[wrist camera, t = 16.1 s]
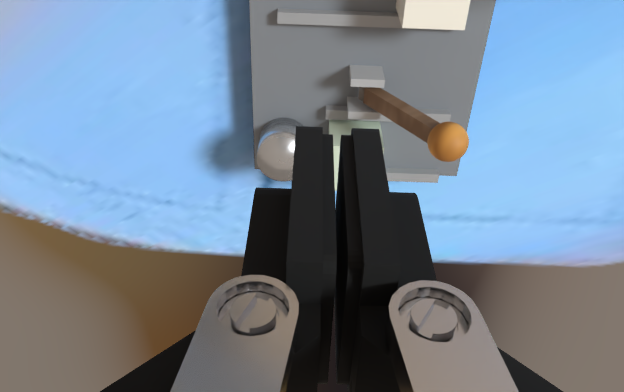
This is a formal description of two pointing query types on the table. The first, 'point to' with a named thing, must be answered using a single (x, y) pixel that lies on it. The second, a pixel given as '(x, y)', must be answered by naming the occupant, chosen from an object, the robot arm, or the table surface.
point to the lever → (419, 124)
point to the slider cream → (433, 14)
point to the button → (277, 148)
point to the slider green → (345, 129)
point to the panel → (364, 71)
